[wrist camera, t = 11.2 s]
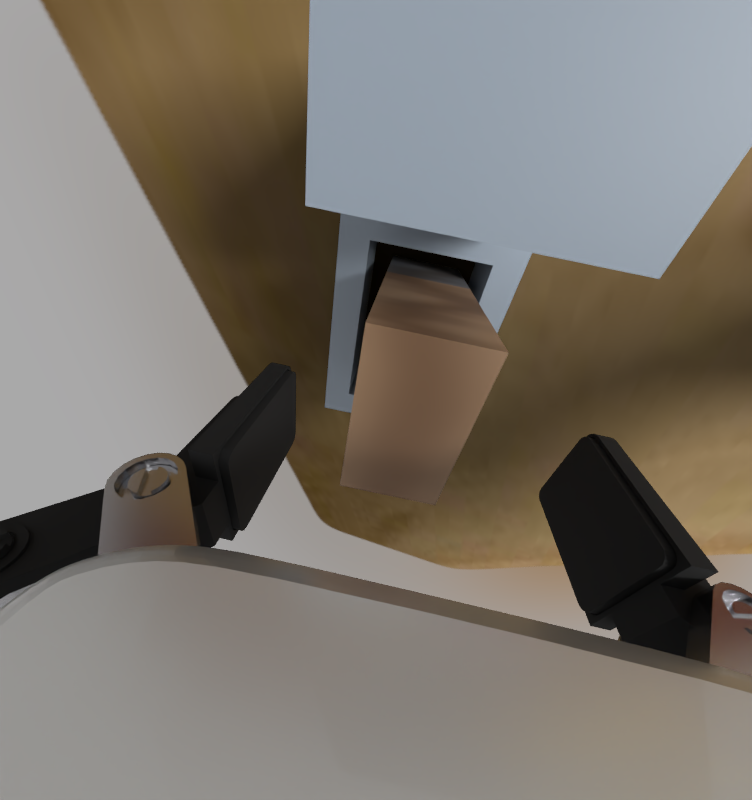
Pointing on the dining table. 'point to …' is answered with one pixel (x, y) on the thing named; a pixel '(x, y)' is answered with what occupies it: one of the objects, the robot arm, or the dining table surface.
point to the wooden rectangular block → (418, 381)
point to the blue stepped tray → (518, 137)
